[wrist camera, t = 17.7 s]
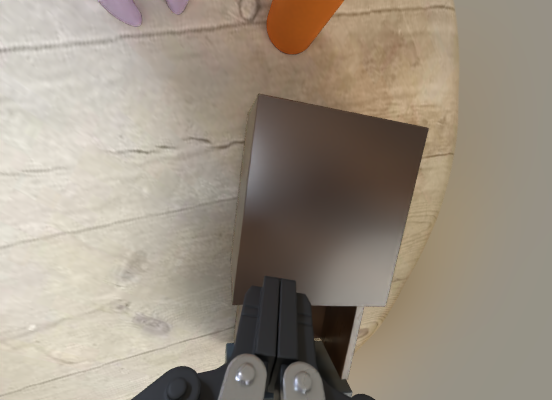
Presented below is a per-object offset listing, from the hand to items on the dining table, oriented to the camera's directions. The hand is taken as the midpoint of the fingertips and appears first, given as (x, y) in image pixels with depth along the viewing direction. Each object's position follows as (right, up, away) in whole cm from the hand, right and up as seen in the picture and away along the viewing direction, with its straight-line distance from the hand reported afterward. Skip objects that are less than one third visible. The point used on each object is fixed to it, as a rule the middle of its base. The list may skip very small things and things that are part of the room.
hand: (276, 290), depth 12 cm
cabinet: (+3, +5, +16) cm, 17 cm away
